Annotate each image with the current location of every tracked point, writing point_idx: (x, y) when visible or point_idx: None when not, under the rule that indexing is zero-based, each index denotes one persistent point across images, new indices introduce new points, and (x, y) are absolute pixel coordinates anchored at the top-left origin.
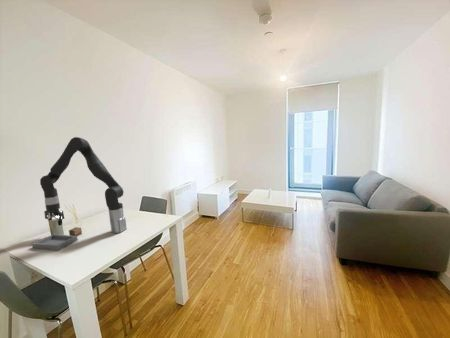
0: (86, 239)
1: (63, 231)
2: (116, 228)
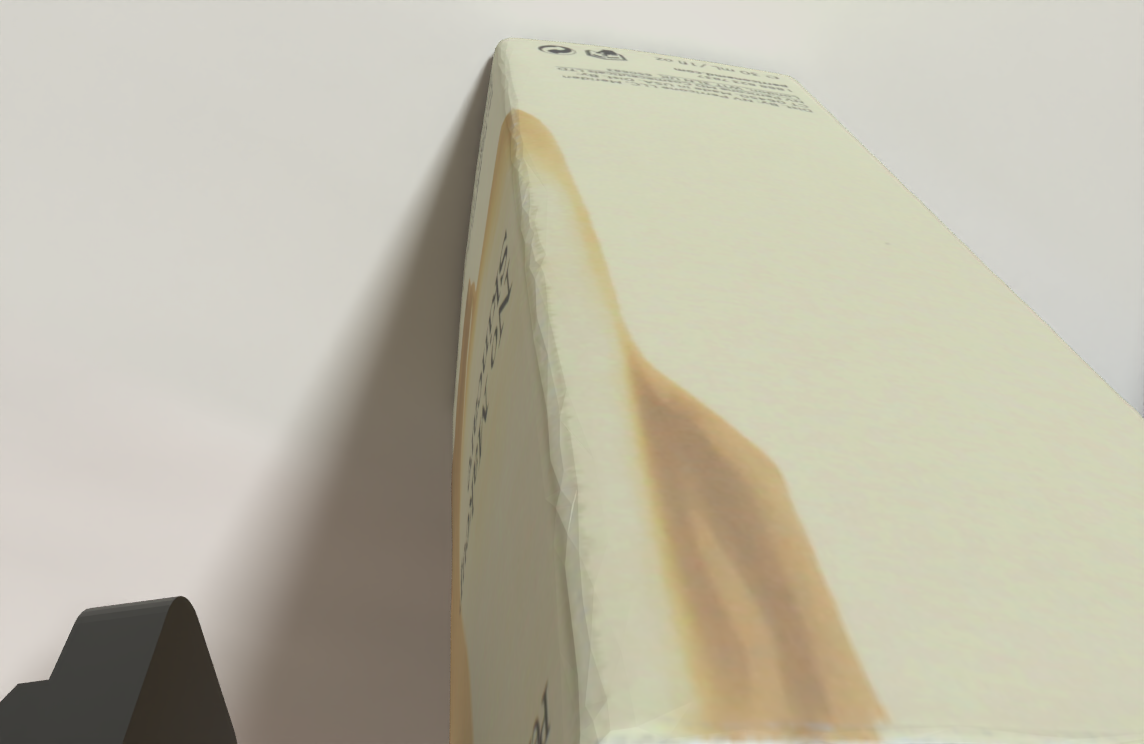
0: None
1: (833, 120)
2: None
